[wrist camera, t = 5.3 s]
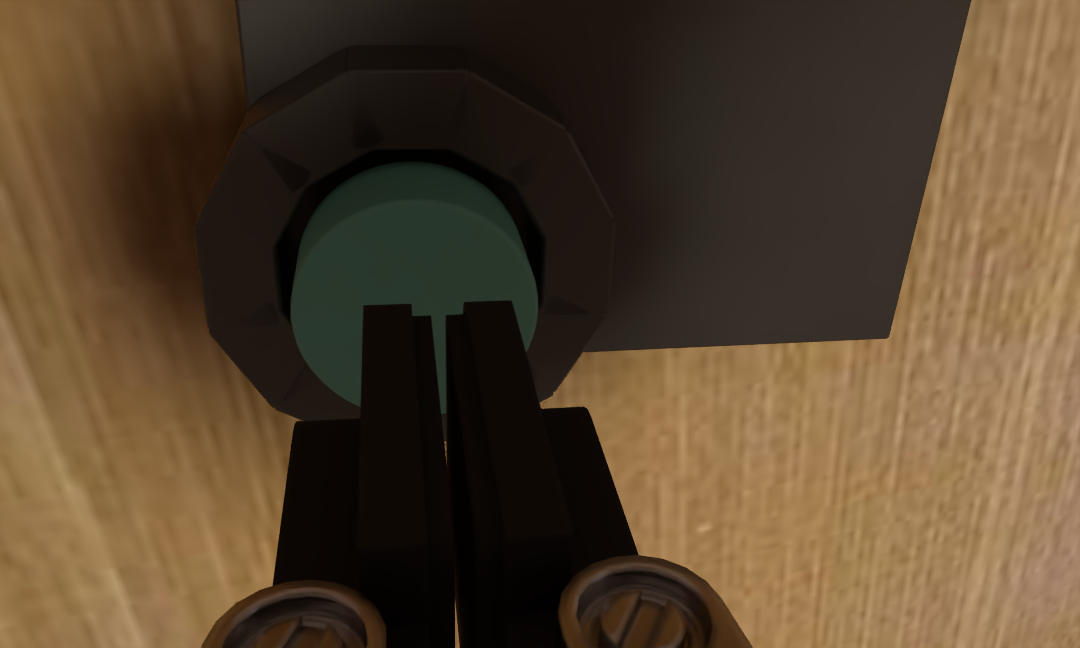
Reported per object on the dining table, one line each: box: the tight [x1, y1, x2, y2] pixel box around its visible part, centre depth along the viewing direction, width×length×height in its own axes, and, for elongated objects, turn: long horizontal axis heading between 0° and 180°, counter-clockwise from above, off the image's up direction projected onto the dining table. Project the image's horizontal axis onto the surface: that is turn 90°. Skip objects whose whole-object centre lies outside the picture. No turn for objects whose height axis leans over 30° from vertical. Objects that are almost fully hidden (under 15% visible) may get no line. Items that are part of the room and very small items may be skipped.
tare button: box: [290, 161, 538, 414], centre depth 14 cm, size 4×4×2 cm
